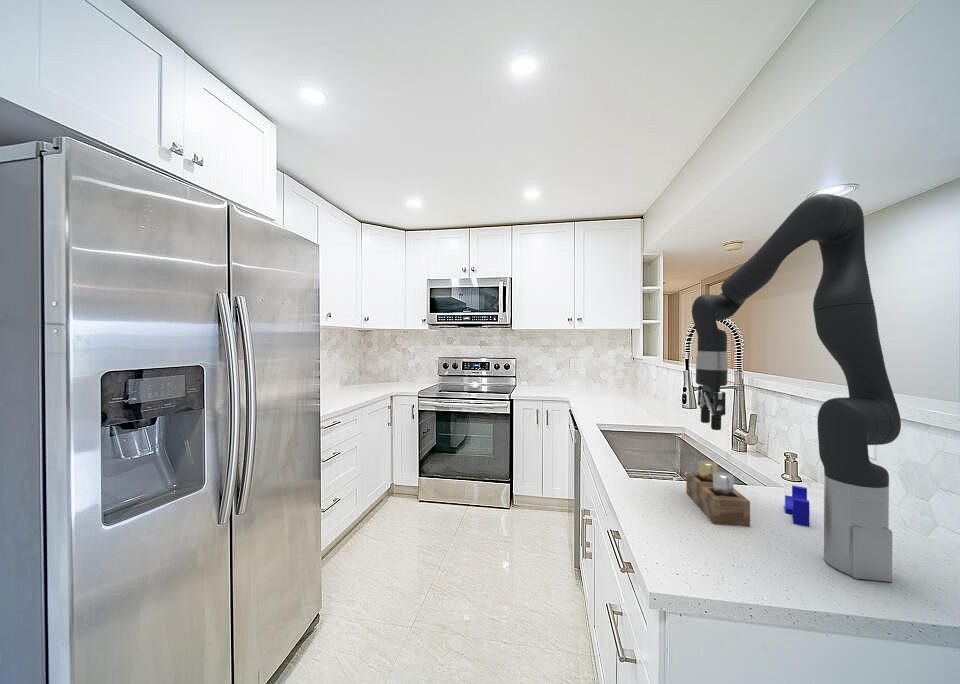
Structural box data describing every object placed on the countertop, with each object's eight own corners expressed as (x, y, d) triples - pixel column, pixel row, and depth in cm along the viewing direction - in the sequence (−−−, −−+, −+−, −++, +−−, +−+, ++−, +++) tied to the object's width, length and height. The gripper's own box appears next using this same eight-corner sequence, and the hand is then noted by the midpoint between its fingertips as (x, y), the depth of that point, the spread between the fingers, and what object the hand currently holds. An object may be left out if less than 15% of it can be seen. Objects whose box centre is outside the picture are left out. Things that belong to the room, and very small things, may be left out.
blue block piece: (785, 506, 107) (785, 484, 107) (806, 510, 104) (806, 487, 104) (785, 522, 98) (785, 498, 97) (809, 527, 95) (809, 502, 95)
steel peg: (736, 500, 98) (736, 478, 98) (717, 499, 99) (717, 477, 99) (728, 493, 102) (728, 472, 102) (710, 492, 103) (710, 471, 103)
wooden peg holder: (750, 526, 95) (750, 501, 95) (713, 523, 96) (713, 499, 96) (716, 494, 115) (716, 473, 115) (686, 492, 116) (686, 472, 116)
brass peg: (719, 485, 108) (719, 465, 108) (702, 484, 109) (702, 464, 109) (713, 480, 112) (713, 460, 112) (696, 479, 113) (696, 459, 113)
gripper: (737, 370, 102) (736, 433, 102) (717, 365, 116) (716, 421, 116) (705, 369, 103) (704, 431, 104) (689, 365, 117) (688, 419, 118)
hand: (710, 426), depth 110 cm, fingers open, 8 cm apart
